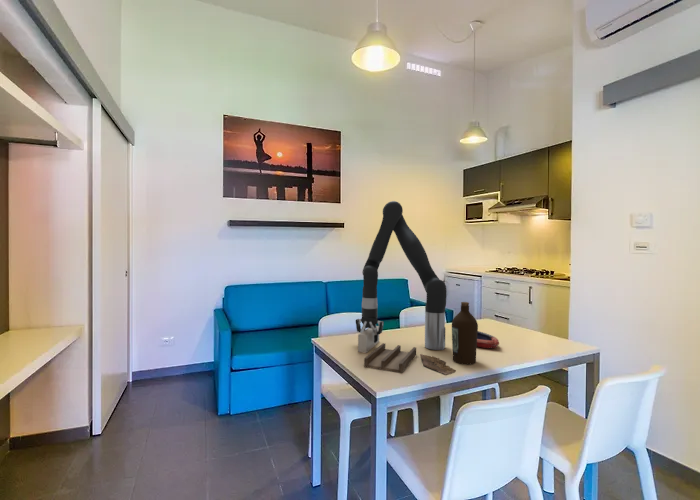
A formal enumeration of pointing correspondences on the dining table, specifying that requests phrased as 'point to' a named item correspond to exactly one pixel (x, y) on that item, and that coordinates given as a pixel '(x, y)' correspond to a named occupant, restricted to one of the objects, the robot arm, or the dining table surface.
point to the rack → (389, 359)
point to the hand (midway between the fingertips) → (369, 341)
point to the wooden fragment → (436, 364)
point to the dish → (486, 340)
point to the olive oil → (464, 336)
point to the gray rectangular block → (366, 340)
